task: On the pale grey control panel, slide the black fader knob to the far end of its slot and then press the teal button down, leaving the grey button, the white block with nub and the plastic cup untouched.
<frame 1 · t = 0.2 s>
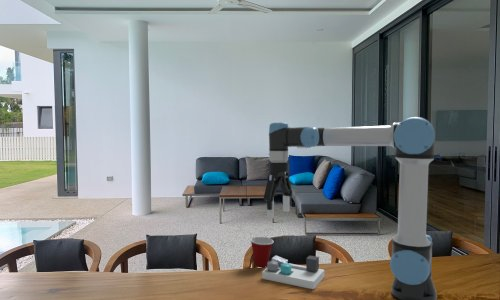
hand: (278, 214, 142), 27 cm above the table, fingers open, 13 cm apart
slider knob: (312, 263, 147), point 6 cm above the table, slide at 0.0 cm
panel: (293, 277, 147), on the table
plastic cup: (262, 265, 162), on the table
teal button: (285, 268, 145), point 4 cm above the table, slide at 0.0 cm
grey button: (272, 266, 148), point 4 cm above the table, slide at 0.0 cm
white block with nub: (279, 260, 154), point 5 cm above the table, hinge at -12.0°
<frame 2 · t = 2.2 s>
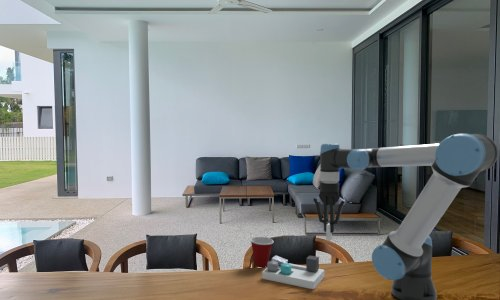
hand: (328, 239, 143), 17 cm above the table, fingers closed
nothing on the table moved.
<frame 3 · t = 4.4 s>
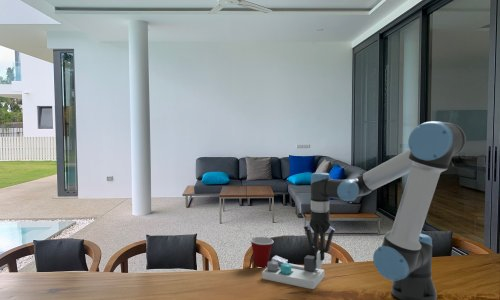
hand: (319, 267, 146), 5 cm above the table, fingers closed
slider knob: (310, 263, 147), point 6 cm above the table, slide at 1.0 cm, touching gripper
everything else where it was.
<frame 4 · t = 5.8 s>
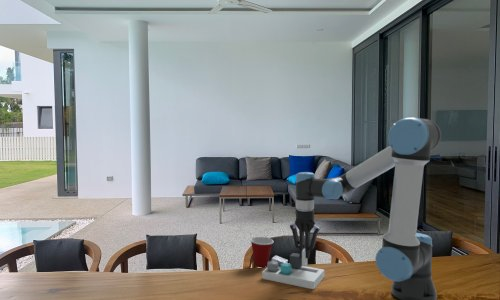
hand: (304, 265, 149), 5 cm above the table, fingers closed
slider knob: (295, 260, 150), point 6 cm above the table, slide at 7.4 cm, touching gripper
everything else where it was.
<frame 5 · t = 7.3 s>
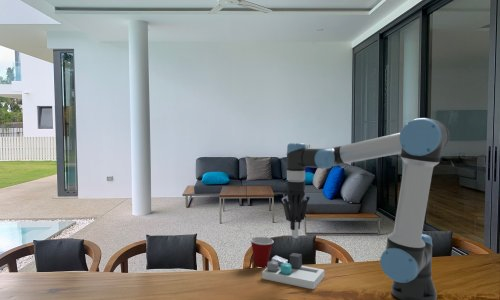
hand: (294, 237, 147), 17 cm above the table, fingers closed
slider knob: (295, 260, 150), point 6 cm above the table, slide at 7.4 cm
everything else where it was.
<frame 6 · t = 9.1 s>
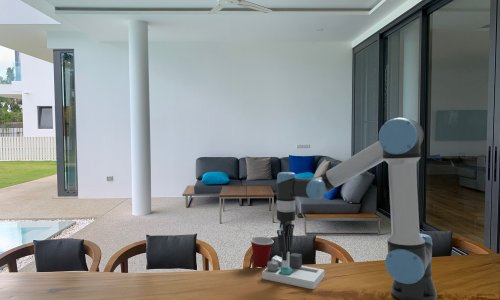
hand: (285, 267, 145), 5 cm above the table, fingers closed
teal button: (285, 271, 145), point 3 cm above the table, slide at 1.1 cm, touching gripper
everything else where it was.
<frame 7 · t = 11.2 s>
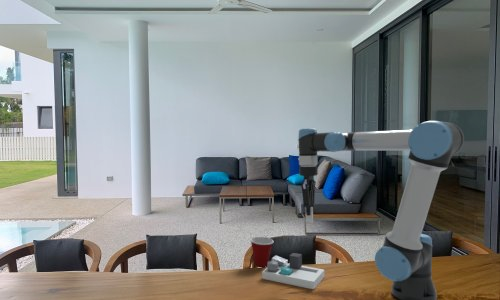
hand: (309, 222, 147), 23 cm above the table, fingers closed
teal button: (285, 272, 145), point 3 cm above the table, slide at 1.5 cm
everything else where it was.
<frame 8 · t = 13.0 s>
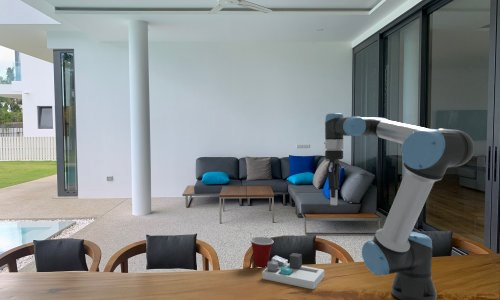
hand: (333, 204, 152), 29 cm above the table, fingers closed
nothing on the table moved.
at the end: slider knob slide at 7.4 cm; teal button slide at 1.5 cm; grey button slide at 0.0 cm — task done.
